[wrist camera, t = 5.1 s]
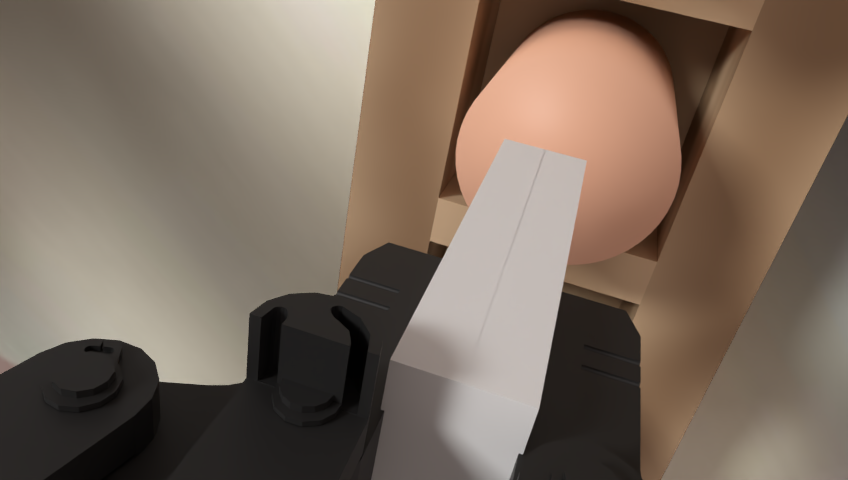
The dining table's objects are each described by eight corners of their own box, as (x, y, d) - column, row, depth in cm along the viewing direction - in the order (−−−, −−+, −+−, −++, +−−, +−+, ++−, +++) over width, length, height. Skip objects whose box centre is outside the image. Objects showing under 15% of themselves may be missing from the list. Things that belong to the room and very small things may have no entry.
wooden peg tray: (363, 326, 29) (324, 386, 25) (489, -454, 16) (446, -541, 13) (650, 421, 27) (649, 500, 23) (1031, -387, 14) (1147, -469, 11)
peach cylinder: (487, 150, 22) (438, 230, 17) (525, -9, 20) (480, 30, 15) (640, 192, 21) (636, 290, 16) (700, 33, 19) (718, 89, 14)
